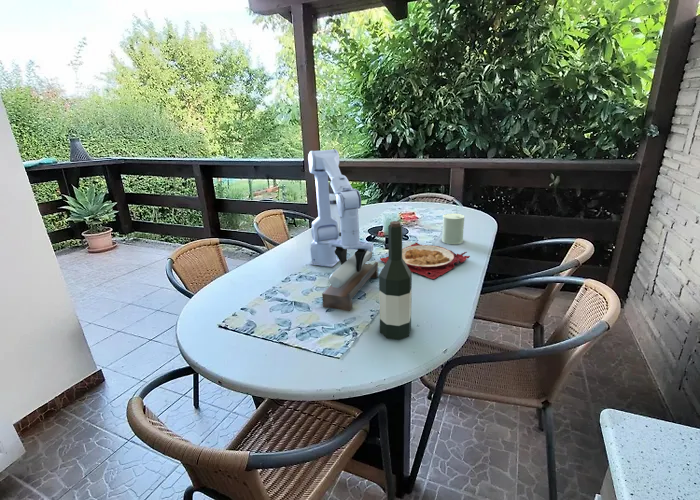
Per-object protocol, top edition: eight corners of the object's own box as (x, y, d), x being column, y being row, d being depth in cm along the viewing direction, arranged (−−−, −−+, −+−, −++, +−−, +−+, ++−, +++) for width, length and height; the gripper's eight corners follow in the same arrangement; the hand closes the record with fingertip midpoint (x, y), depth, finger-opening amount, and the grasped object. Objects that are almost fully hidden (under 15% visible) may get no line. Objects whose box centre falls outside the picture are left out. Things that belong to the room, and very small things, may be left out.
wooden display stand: (323, 306, 112) (321, 290, 110) (354, 273, 134) (354, 259, 132) (350, 311, 108) (349, 294, 106) (378, 276, 131) (377, 261, 129)
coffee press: (312, 247, 163) (307, 180, 153) (327, 236, 177) (323, 174, 167) (348, 250, 157) (345, 180, 147) (361, 239, 171) (358, 174, 161)
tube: (343, 279, 106) (374, 250, 127) (328, 271, 107) (360, 244, 128) (339, 294, 108) (370, 262, 129) (323, 286, 109) (356, 256, 131)
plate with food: (416, 246, 159) (416, 239, 158) (470, 259, 141) (470, 251, 140) (378, 262, 144) (378, 254, 143) (433, 279, 126) (433, 270, 125)
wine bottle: (377, 324, 101) (375, 219, 90) (407, 321, 101) (408, 216, 91) (382, 341, 93) (380, 228, 83) (414, 338, 94) (417, 226, 83)
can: (452, 245, 157) (453, 218, 153) (437, 240, 165) (438, 214, 160) (467, 241, 161) (469, 215, 157) (452, 236, 169) (453, 211, 165)
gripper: (323, 231, 113) (326, 271, 118) (367, 235, 108) (368, 277, 112) (332, 225, 119) (335, 263, 124) (375, 228, 114) (376, 268, 118)
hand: (351, 269), depth 118 cm, fingers closed on tube, 4 cm apart
